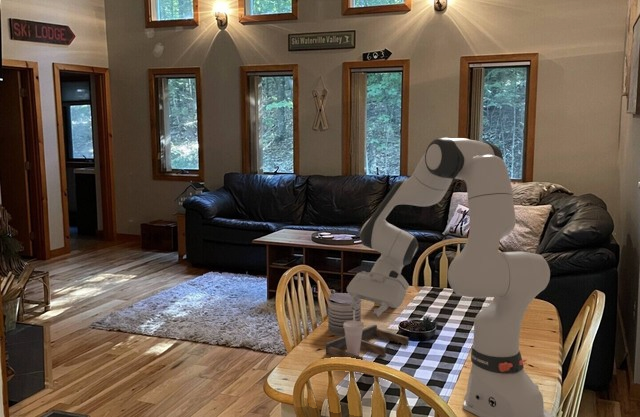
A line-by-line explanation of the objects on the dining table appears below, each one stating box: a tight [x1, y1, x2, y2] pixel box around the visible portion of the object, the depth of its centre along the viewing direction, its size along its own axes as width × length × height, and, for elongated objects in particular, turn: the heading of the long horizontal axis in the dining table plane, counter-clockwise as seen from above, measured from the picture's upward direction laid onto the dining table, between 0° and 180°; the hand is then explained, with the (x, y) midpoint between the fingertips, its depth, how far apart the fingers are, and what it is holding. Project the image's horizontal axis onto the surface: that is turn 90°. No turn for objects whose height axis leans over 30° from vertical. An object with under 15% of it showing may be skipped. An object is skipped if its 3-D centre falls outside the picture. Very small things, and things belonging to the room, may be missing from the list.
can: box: [327, 292, 363, 337], centre depth 206 cm, size 11×11×12 cm
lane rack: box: [325, 324, 410, 360], centre depth 189 cm, size 14×24×4 cm, turn 136°
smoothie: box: [343, 311, 365, 356], centre depth 184 cm, size 6×6×14 cm
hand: (364, 311), depth 187 cm, fingers open, 8 cm apart
